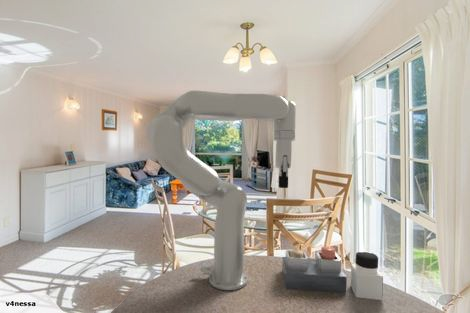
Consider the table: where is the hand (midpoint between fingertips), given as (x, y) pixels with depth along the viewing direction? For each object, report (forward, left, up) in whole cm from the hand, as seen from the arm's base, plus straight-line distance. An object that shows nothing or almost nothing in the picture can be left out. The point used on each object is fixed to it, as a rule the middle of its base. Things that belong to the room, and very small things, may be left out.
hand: (283, 187), depth 95 cm
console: (+9, -9, -29) cm, 32 cm away
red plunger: (+14, -9, -22) cm, 28 cm away
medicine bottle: (+24, -14, -29) cm, 40 cm away
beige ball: (+4, -9, -24) cm, 26 cm away
